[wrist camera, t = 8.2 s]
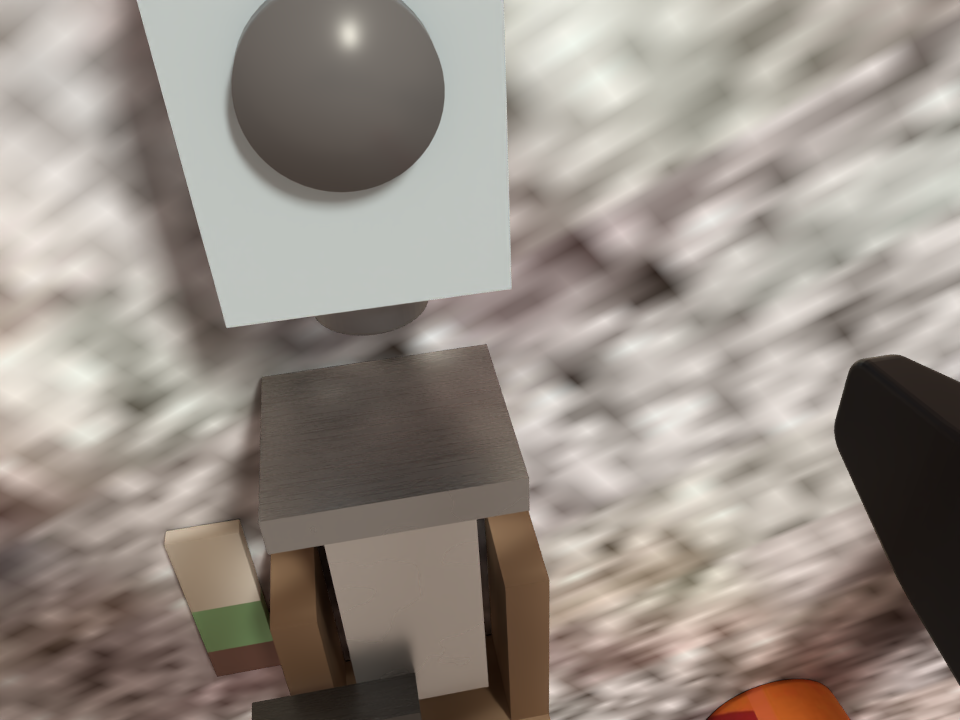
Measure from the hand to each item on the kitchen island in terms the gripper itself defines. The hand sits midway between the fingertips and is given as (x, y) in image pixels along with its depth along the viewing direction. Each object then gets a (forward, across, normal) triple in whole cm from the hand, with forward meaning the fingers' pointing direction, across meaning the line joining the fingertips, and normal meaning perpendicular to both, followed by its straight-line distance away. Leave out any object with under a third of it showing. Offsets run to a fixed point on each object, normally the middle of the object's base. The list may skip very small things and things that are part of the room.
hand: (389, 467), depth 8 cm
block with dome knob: (+12, 0, 0) cm, 12 cm away
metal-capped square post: (+12, +1, +12) cm, 17 cm away
